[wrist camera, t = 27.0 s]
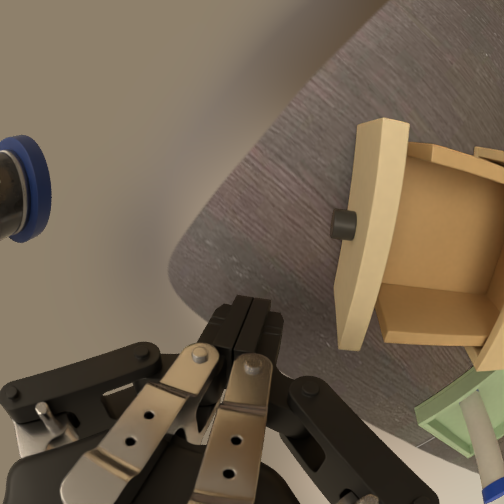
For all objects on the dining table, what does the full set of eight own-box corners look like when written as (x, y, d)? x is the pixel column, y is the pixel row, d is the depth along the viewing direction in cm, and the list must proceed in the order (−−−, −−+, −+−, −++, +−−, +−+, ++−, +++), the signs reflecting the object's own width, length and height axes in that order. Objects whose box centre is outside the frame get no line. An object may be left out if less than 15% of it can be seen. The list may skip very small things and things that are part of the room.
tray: (414, 407, 24) (417, 425, 22) (506, 337, 19) (515, 352, 17) (465, 446, 26) (468, 458, 24) (530, 398, 21) (536, 410, 19)
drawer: (316, 285, 20) (315, 347, 14) (338, 121, 16) (353, 111, 10) (480, 303, 18) (516, 353, 12) (517, 170, 13) (574, 189, 7)
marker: (455, 404, 23) (480, 506, 10) (458, 390, 22) (488, 499, 9) (476, 396, 22) (506, 494, 9) (479, 381, 21) (515, 485, 8)
